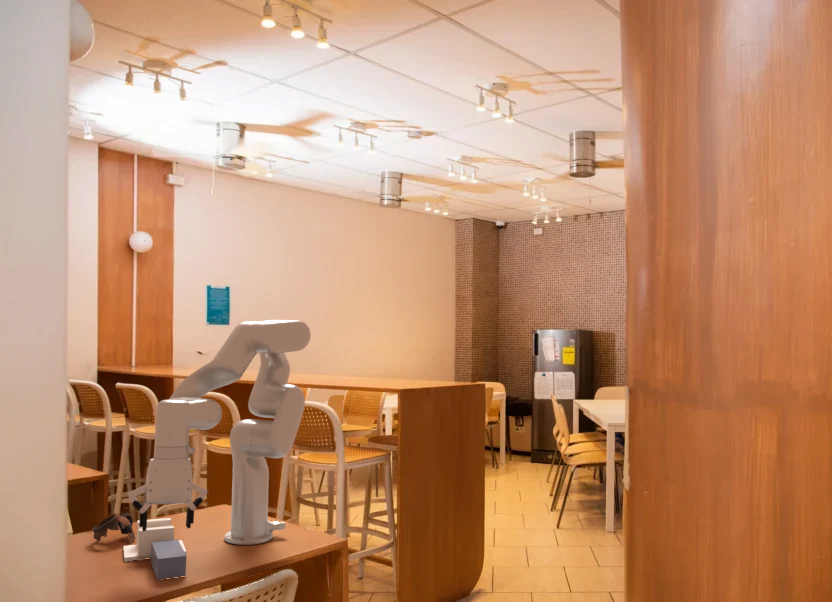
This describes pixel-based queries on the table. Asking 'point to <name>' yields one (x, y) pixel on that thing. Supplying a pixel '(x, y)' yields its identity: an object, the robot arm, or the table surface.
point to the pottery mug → (115, 526)
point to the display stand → (149, 538)
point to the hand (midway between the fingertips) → (166, 528)
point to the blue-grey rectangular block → (168, 559)
